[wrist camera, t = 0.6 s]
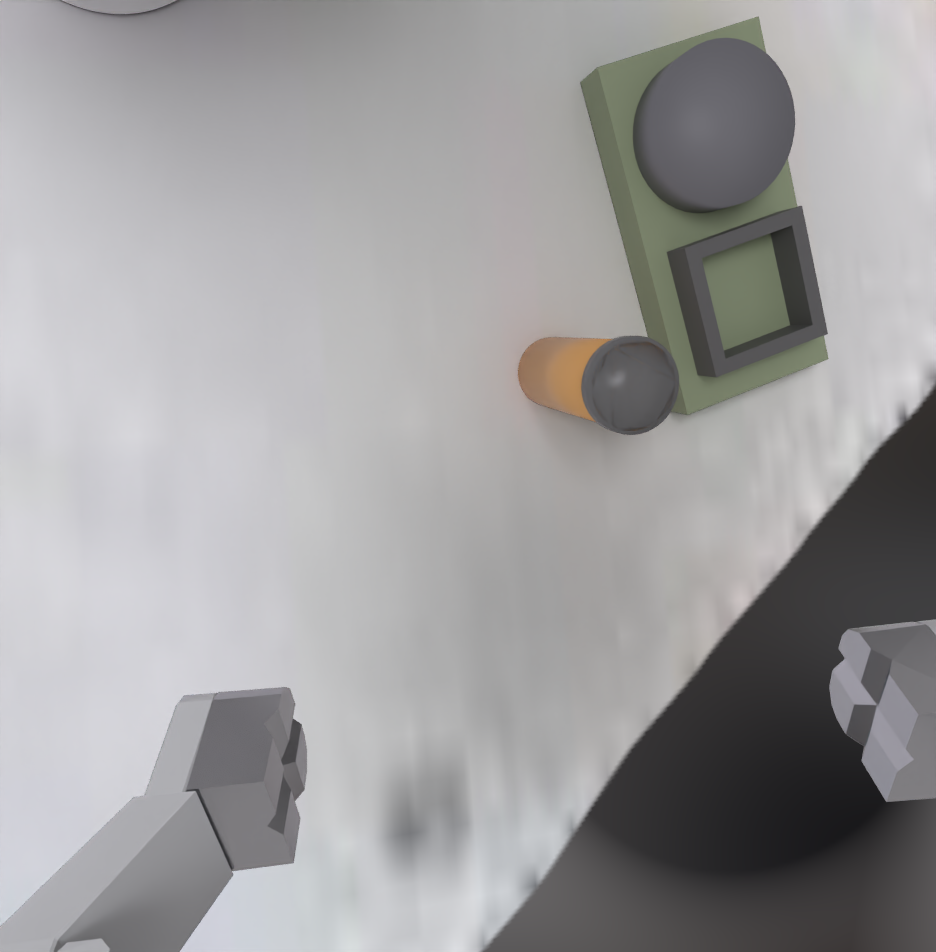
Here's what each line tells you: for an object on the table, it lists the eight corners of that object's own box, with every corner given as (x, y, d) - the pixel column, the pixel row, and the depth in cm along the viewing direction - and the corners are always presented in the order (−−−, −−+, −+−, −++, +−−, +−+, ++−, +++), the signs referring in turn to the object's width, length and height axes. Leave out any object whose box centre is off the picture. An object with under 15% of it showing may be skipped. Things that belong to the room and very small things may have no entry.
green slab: (580, 82, 50) (616, 50, 45) (733, 33, 52) (787, -3, 46) (668, 410, 56) (709, 419, 51) (802, 357, 58) (857, 360, 52)
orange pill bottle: (505, 349, 53) (576, 355, 39) (573, 324, 54) (665, 322, 40) (528, 419, 54) (603, 448, 41) (594, 393, 55) (689, 414, 42)
